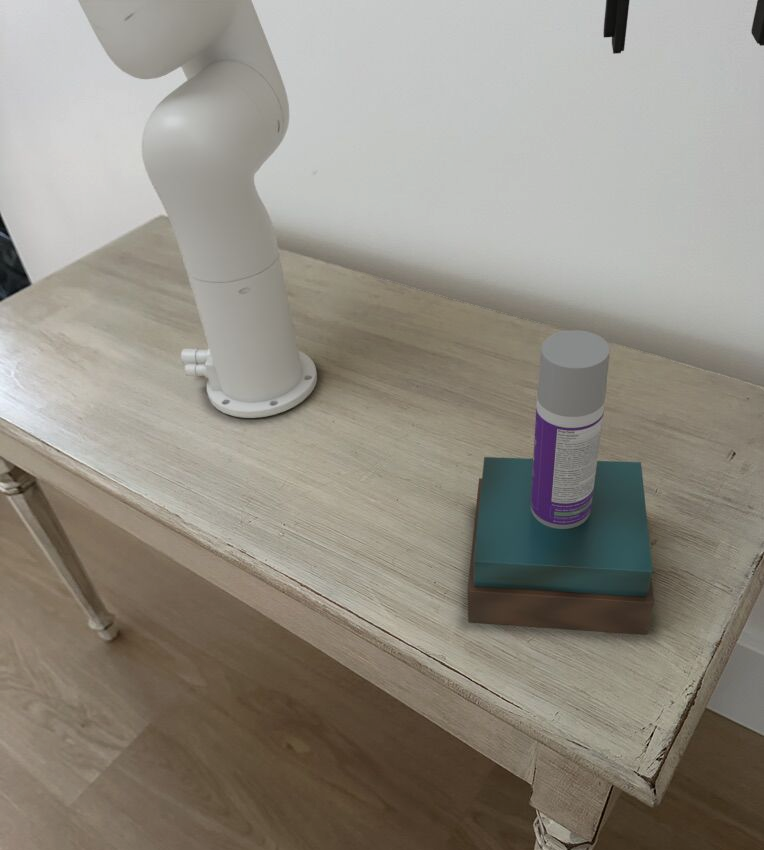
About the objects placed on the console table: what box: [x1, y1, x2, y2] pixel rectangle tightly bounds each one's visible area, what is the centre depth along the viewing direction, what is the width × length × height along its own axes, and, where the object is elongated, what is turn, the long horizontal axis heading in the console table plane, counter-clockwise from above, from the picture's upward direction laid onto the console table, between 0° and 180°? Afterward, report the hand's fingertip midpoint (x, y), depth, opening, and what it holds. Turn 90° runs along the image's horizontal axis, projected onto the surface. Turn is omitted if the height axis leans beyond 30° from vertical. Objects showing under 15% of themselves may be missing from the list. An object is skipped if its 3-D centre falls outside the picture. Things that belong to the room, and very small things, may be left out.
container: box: [531, 329, 611, 529], centre depth 58 cm, size 5×5×15 cm
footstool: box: [466, 456, 655, 635], centre depth 65 cm, size 14×13×7 cm
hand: (687, 43), depth 56 cm, fingers open, 9 cm apart
